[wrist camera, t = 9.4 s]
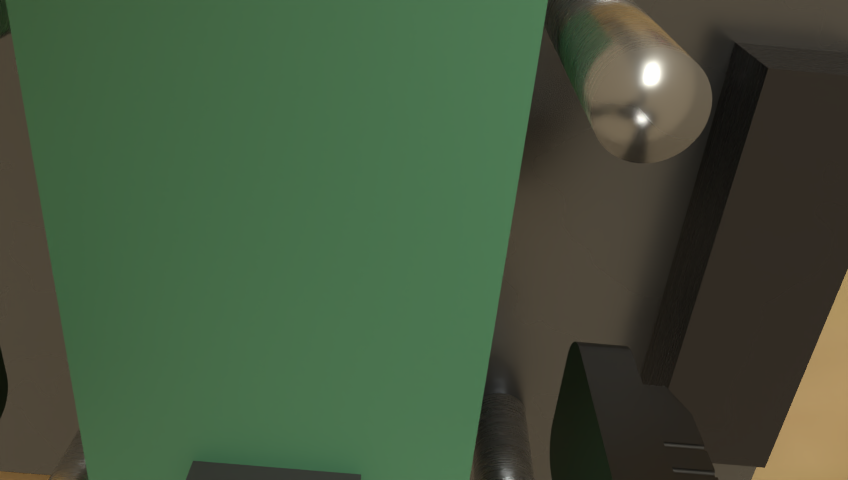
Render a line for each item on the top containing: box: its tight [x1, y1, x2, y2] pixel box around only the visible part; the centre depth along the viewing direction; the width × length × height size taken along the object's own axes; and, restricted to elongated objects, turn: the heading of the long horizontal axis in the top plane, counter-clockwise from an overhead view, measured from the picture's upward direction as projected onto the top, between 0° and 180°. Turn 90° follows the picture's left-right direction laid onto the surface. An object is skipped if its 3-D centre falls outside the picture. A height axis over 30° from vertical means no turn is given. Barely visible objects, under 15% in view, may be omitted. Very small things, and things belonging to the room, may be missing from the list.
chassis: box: [0, 0, 848, 480], centre depth 13 cm, size 15×20×6 cm
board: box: [6, 0, 548, 480], centre depth 11 cm, size 12×6×3 cm, turn 175°
